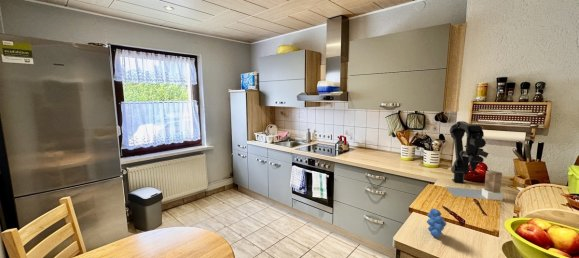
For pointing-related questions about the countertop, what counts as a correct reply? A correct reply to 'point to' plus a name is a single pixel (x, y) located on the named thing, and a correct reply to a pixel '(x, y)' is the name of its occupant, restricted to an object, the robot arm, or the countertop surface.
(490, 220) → the countertop surface
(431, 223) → the grapes
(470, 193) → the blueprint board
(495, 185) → the walnut pillar
